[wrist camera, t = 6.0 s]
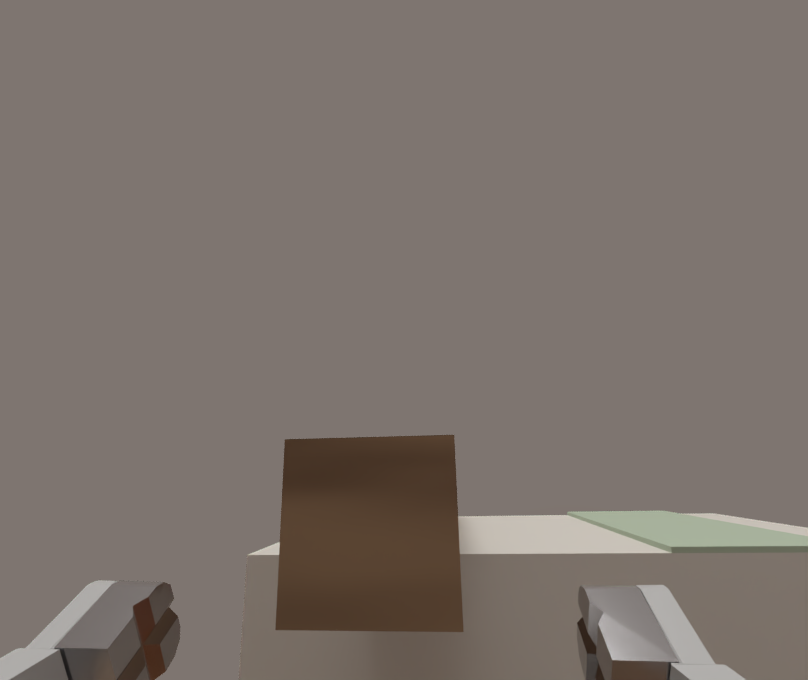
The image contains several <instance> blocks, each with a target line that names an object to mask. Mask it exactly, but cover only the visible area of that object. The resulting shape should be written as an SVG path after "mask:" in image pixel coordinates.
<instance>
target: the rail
mask: <svg viewBox="0 0 808 680" xmlns="http://www.w3.org/2000/svg"><path fill="white" fill-rule="evenodd" d="M281 510H282V511H281V530H280V548H279V568H278V588H277V608H276V628H275V630H309V631H406V632H464V631H463V610H462V590H461V569H460V548H459V527H458V507H457V486H456V465H455V444H454V435H434V436H396V437H395V436H394V437H357V438H324V439H323V438H322V439H287V440H285V449H284V469H283V489H282V508H281Z"/></svg>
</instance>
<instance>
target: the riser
mask: <svg viewBox="0 0 808 680" xmlns="http://www.w3.org/2000/svg"><path fill="white" fill-rule="evenodd" d="M567 514H568V515H540V516H466V517H465V516H460V517H459V516H458V527H459V548H460V569H461V590H462V610H463V631H464V632H406V631H309V630H275V628H276V608H277V588H278V568H279V548H280V542H279V543H276V544H273V545H271V546H269V547H266V548H264V549H261V550H258V551H256V552H254V553H251V554H248V555H247V564H246V579H245V594H244V609H243V624H242V638H241V653H240V668H239V680H585V677H584V674H583V670H582V666H581V662H580V658H579V651H578V642H577V622H578V621H579V620H580V619H581V618H582V614H581V611H580V608H579V605H578V591H579V588H580V586H635V585H664V586H666V587H667V588H668V589H669V590H670V592H671V593H672V595H673V596H674V598H675V600H676V601H677V603H678V604H679V606H680V608H681V609H682V611H683V612H684V614H685V616H686V617H687V619H688V620H689V622H690V624H691V625H692V627H693V628H694V630H695V632H696V633H697V635H698V636H699V638H700V640H701V641H702V643H703V644H704V646H705V648H706V649H707V651H708V652H709V654H710V656H711V657H712V659H713V660H714V662H715V664H722V665H727V666H728V667H729V668H731V669H732V670H733V671H735V672H736V673H738V674H739V675H740V676H742V677H743V678H745V679H746V680H808V528H805V527H799V526H792V525H786V524H779V523H773V522H766V521H759V520H753V519H747V518H740V517H733V516H727V515H720V514H714V513H713V514H712V513H711V514H679V513H674V512H668V511H601V512H567Z"/></svg>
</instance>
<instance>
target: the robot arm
mask: <svg viewBox="0 0 808 680" xmlns="http://www.w3.org/2000/svg"><path fill="white" fill-rule="evenodd" d="M173 599H174V596H173V592H172V589H171V585H170V584H167V583H165V582H144V581H101V580H97V581H95V582H92V583H90V584H88V585H87V586H86V587H85V588H84V589H83V590H82V591H81V592H80V593H79V594H78V595H77V596H76V597H75V598H74V599H73V600H72V601H71V603H69V605H68V606H67V607H66V608H65V609H64V610H63V611H62V612H61V613H60V614H59V615H58V616H57V617H56V618H55V619H54V620H53V621H52V622H51V623H50V624H49V625H48V626H47V627H46V628H45V629H44V630H43V631H42V632H41V633H40V634H39V635H38V636H37V637H36V638H35V639H34V640H33V641H32V642H31V643H30V644H29V645H28V646H27V647H26V648H23V649H22V648H19V649H16V650H14V651H12V652H10V653H9V654H7V655H5V656H3V657H2V658H0V680H155V679H156V678H157V677H158V676H160V675H161V674H163V673H164V672H165V671H166V670H167V668H168V667H169V665H170V663H171V662H172V660H173V658H174V656H175V653H176V650H177V646H178V643H179V640H180V624H179V619H178V616H177V615H176V614H175V613H174V612H173V611H172V610H171V609H170V608H169V606H170V605H171V603H172V601H173ZM578 605H579V608H580V611H581V614H582V618H581V619H580V620H579V621H578V622H577V642H578V651H579V658H580V662H581V666H582V670H583V674H584V677H585V680H746V679H745V678H743V677H742V676H740V675H739V674H738V673H736V672H735V671H733V670H732V669H731V668H729V667H728V666H727V665H722V664H715V662H714V660H713V659H712V657H711V656H710V654H709V652H708V651H707V649H706V648H705V646H704V644H703V643H702V641H701V640H700V638H699V636H698V635H697V633H696V632H695V630H694V628H693V627H692V625H691V624H690V622H689V620H688V619H687V617H686V616H685V614H684V612H683V611H682V609H681V608H680V606H679V604H678V603H677V601H676V600H675V598H674V596H673V595H672V593H671V592H670V590H669V589H668V588H667V587H666V586H664V585H635V586H580V588H579V591H578Z"/></svg>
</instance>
